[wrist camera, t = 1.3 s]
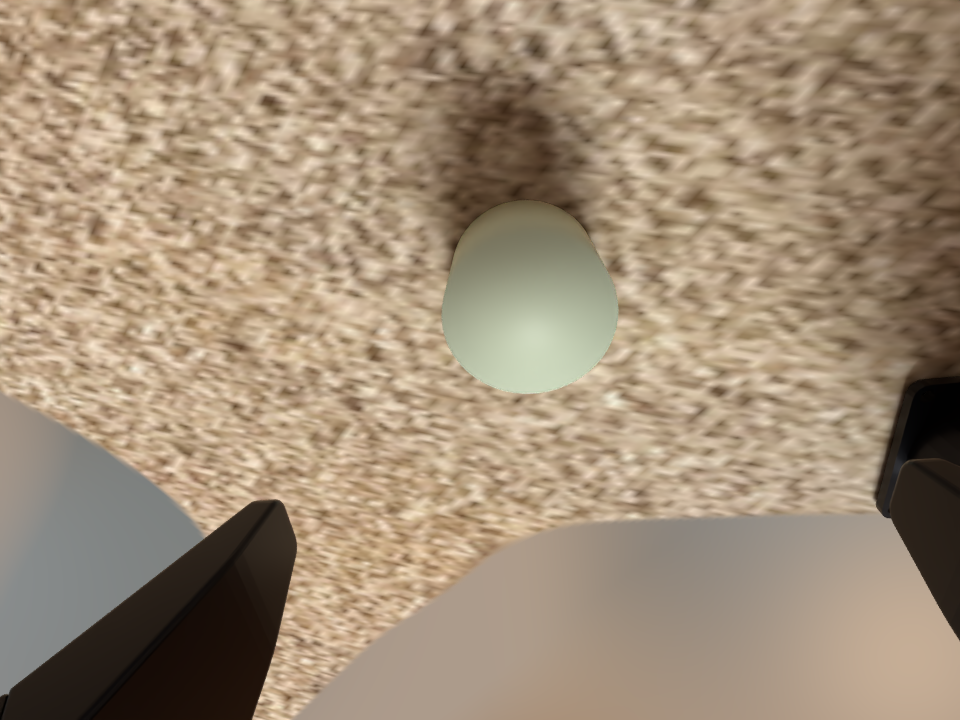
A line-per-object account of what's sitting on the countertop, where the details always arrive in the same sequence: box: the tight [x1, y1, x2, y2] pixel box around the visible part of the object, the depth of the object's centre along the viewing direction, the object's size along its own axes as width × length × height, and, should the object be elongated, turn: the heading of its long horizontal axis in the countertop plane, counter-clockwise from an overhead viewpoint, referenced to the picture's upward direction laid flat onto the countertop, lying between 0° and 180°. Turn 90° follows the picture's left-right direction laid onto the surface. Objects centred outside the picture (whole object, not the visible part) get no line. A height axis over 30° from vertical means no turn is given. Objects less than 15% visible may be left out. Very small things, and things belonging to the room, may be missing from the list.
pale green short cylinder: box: [442, 200, 618, 394], centre depth 17 cm, size 5×5×4 cm
